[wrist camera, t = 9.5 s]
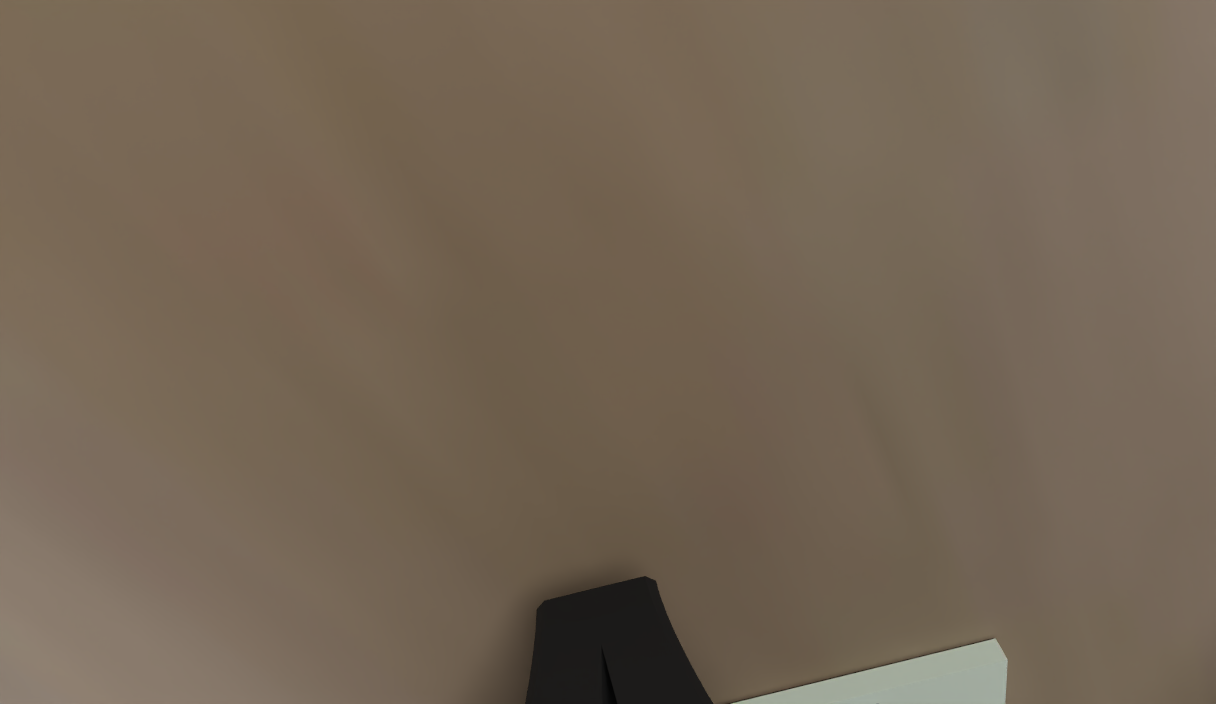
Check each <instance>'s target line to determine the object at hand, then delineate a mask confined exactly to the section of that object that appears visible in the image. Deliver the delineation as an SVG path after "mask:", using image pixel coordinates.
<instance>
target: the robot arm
mask: <svg viewBox="0 0 1216 704" xmlns="http://www.w3.org/2000/svg"><path fill="white" fill-rule="evenodd" d="M525 704H713V702H712V701H711V699H710V698H709V696H708V694H707V693H706V691H705V689H704V687H703V686H702V684H701V682H700V680H699V679H698V677H697V675H696V673H695V671H694V669H693V668H692V666H691V664H690V662H689V660H688V658H687V656H686V654H685V652H684V650H683V648H682V646H681V644H680V642H679V640H678V638H677V636H676V634H675V632H674V630H673V627H672V625H671V623H670V620H669V618H668V616H667V613H666V611H665V608H664V605H663V603H662V600H661V597H660V594H659V591H658V587H657V583H656V581H655V580H653V579H650V578H648V577H646V576H644V577H640V578H635V579H631V580H627V581H623V582H619V583H615V584H611V585H607V586H603V587H599V588H595V589H590V590H586V591H582V592H578V593H574V594H570V595H566V596H562V597H558V598H554V599H550V600H545V601H544V602H543V603H542V604H541V605H540V606H539V608H538V609H537V616H536V633H535V642H534V651H533V659H532V667H531V673H530V680H529V685H528V691H527V697H526V702H525Z"/></svg>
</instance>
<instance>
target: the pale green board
mask: <svg viewBox="0 0 1216 704" xmlns="http://www.w3.org/2000/svg"><path fill="white" fill-rule="evenodd" d="M1007 662H1008V660H1007V658H1006V656H1005V654H1004V653H1003V651H1002V649H1001V647H1000V646H999V644H998V642H997V640H996V639H992V640H987V641H983V642H979V643H975V644H971V645H967V646H963V647H959V648H955V649H951V650H947V651H943V652H939V653H935V654H931V655H927V656H922V657H918V658H914V659H910V660H906V661H902V662H898V663H894V664H890V665H886V666H882V667H878V668H874V669H870V670H866V671H862V672H857V673H853V674H849V675H845V676H841V677H837V678H833V679H829V680H825V681H821V682H817V683H813V684H809V685H805V686H801V687H797V688H792V689H788V690H784V691H780V692H776V693H772V694H768V695H764V696H760V697H756V698H752V699H748V700H744V701H740V702H736V703H732V704H1005V696H1006V679H1007Z"/></svg>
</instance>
